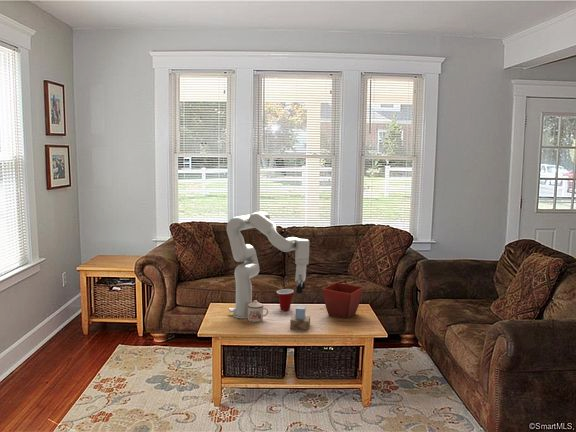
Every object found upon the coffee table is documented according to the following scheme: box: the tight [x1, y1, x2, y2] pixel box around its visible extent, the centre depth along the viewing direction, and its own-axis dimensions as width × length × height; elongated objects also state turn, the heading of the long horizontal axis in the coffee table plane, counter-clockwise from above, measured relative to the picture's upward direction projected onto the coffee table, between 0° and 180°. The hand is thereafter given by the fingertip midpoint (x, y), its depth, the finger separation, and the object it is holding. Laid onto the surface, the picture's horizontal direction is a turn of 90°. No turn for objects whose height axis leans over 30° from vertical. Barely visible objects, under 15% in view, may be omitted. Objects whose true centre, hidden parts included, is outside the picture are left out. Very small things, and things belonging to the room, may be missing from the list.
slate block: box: [294, 305, 307, 320], centre depth 303 cm, size 5×5×6 cm
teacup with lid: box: [247, 299, 269, 323], centre depth 314 cm, size 12×9×12 cm
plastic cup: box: [276, 288, 294, 311], centre depth 337 cm, size 11×11×12 cm
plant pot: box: [321, 282, 364, 319], centre depth 328 cm, size 19×19×17 cm
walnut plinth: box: [289, 314, 311, 331], centre depth 304 cm, size 10×10×5 cm
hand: (300, 291), depth 302 cm, fingers open, 9 cm apart
